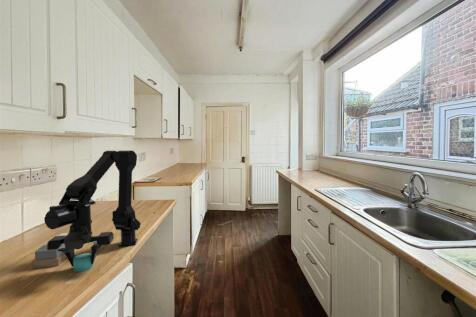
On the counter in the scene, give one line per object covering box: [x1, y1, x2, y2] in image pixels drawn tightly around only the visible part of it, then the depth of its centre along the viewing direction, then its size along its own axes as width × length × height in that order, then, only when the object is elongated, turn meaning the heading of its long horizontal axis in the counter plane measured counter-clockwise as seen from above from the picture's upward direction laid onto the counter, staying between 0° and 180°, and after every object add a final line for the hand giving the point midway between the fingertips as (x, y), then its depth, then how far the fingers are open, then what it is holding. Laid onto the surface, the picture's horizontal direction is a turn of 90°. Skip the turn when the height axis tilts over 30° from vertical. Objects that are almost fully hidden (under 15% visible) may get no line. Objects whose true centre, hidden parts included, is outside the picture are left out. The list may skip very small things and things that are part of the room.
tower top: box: [34, 244, 63, 260], centre depth 91 cm, size 6×6×3 cm
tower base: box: [31, 253, 68, 270], centre depth 91 cm, size 8×8×3 cm
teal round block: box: [72, 252, 93, 273], centre depth 87 cm, size 6×6×4 cm
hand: (82, 265), depth 87 cm, fingers open, 6 cm apart
